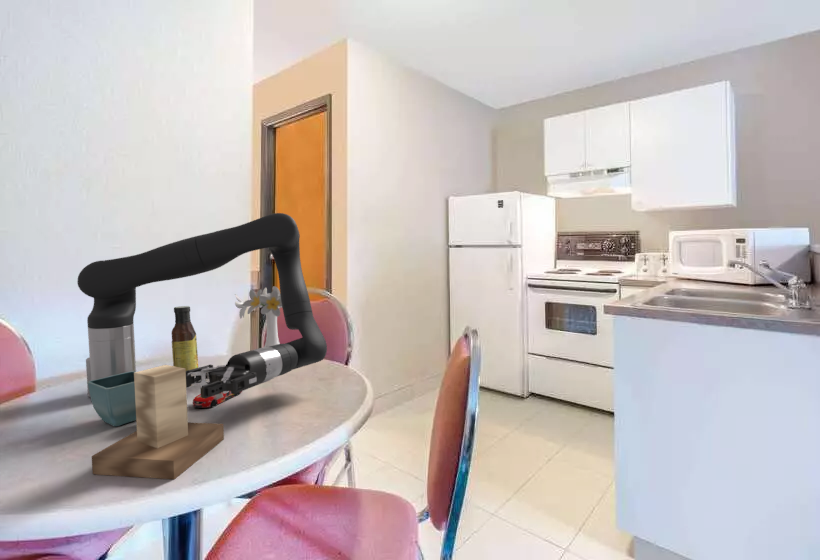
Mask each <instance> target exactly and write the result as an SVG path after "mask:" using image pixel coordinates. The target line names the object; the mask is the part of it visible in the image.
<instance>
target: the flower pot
mask: <svg viewBox="0 0 820 560" xmlns="http://www.w3.org/2000/svg"><path fill="white" fill-rule="evenodd" d="M134 373H135V372H134V371H131V372H126V373H122V374H118V375H113V376H109V377H105V378H101V379H96V380H92V381H88V382H87V381H86V384H87V383H88V387H89V392H90V396H91V397H90V400H91V403H92V406H93V409H94V410H95V412H96V413H97V415H98V417H99V418H101V420H102V421H103V422H104V423H106V424H109V425H110V426H113V427H119V426H122V425H125V424H128V423H131V422H134V421H136V403H135V384H134Z"/></svg>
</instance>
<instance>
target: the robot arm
mask: <svg viewBox="0 0 820 560" xmlns="http://www.w3.org/2000/svg"><path fill="white" fill-rule="evenodd" d="M300 237H301V236H300V231H299V227H298V224H297V222H296V220H295V219H294V218H293V217H291V215H289V214H286V213H283V212H275V213H271V214H267V215H264V216H262V217H259V218H257V219H254V220H252V221H249V222H245V223H244V224H243V223H242V224H240V225H237V226H232V227H227V228H225V229H221V230H216V231H212V232H209V233H205V234H200V235H195V236H191V237H188V238H183V239H181V240H177V241H174V242H170V243H167V244H165V245H162V246H158V247H155V248H153V249H150V250H147V251H144V252H142V253H138V254H135V255H134V254H133V255H130V256H129V255H128V256H125V257H124V256H123V257H119V258H110V259H105V260H104V259H103V260H96V261H93V262H91V263H89V264H87V265H86V266H85V267H83V268H82V269H81V270H80V272H79V274H78V276H77V281H76V282H77V287H78V288H79V290H80V291H81V292H82V293H83V294H84V295H86V296H88V297H90V298H92V299H93V306H92V308H91V309H92V310H91V311H90V313H89V314H88V316H87V335H88V336H87V337H88V350H89V351H88V352H89V353H88V354H89V356H88V357H87V358H86V359H85V369H86V371H85V372H86V384H87V386H86V387H87V397H88V398H91V396H90V392H89V387H88V383H87V382H88V381H92V380H96V379H101V378H105V377H109V376H113V375H118V374H122V373H126V372H131V371H134V372H137V367H136V366H137V365H136V362H137V361H136V345H135V344H136V343H135V327H134V326H135V325H134V316H135V313H136V307H137V293H136V292H137V289H136V288H139V287H141V286H144V285H148V284H153V283H157V282H164V281H165V282H166V281H170V280H177V279H183V278H188V277H192V276H196V275H200V274H203V273H207V272H211V271H214V270H216V269H218V268H221V267H223V266H225V265H227V264H228V263H230V262H232V261H233V260H235V259H237V258H239V257H240V256H242V255H244V254H247V253H250V252H253V251H258V250H262V249H269V251H270V253H271V255H272V257H273V261H274V262H275V266H276V270H277V275H278V281H279V284H278V285H279V291H280V296H281V303H282V308H281V309H282V313H283V317H284V322H285V325H286V327H287V329H289V330H294V331H297V330H298V331H299V333H300V335H301V337H300V338H297V339H294V340H291V341H289V342H285V343H280V344H277V345H273V346H270V347H266V348H264V347H259V348H258V347H257V348H256V349H255V348H254V349H252V350H247V351H244V352H240V353H237V354H234V355H232V356H231V357H230V358H229V359H228V361H227V362H226V364H223V365H222V364H221V365H217V366H216V367H215V366H214V365H213V364H208V365H203V366H200V367H199V366H198V368H195V369H192V370H187V371H186V389H187V388H190V387H193V386H194V387H195V386H196V387H197V386H200V394H201V397H202V398H208V397H211V396H214V395H217V394H219V393H221V392H222V393H224V394H225V393H228V392H229V391H231V394H236V393H239V392H241V391H242V392H243V391H246V390H248V389H251V388H253V387H256V386H258V385H261V384H264V383H267V382H270V381H271V380H273V379H274V378H277V377H280V376H282V375H285V374H287V373H289V372H291V371H292V370H296V369H299V368H300V369H301V368H302V367H305V366H309V365H313V364H316V363H318V362H319V363H320V362H321V361H323V360H325V357H326V356H327V351H328V347H327V346H328V345H327V341H326V339H325V336H324V335H323V333H322V331H321V329H320V326H319V325H318V323H317V321H316V319H315V318H314V313H313V309H312V304H311V300H310V296H309V292H308V288H307V285H306V280H305V278H304V273H303V269H302V263H301V253H300V252H301V251H300V249H301V248H300ZM207 380H209V381H207ZM242 392H241V393H242ZM239 394H240V393H239Z"/></svg>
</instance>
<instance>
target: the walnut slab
mask: <svg viewBox="0 0 820 560" xmlns="http://www.w3.org/2000/svg"><path fill="white" fill-rule="evenodd" d="M224 431H225V430H224V423H211V422H210V423H209V422H191V421H189V422H188V436H185V437H183V438H181V439H178V440H176V441H174V442H171V443H169V444H167V445H164V446H162V447H160V448H155V447H152V446H149V445H146V444H143V443H140V442H137V430H136V431H134V432H132V433H130V434H128V435H126V436H125V437H123V438H121V439H119V440H118V441H116V442H114V443H112V444H110V445H109V446H107V447H105V448H103V449H101V450H100V451H97V452H96V453H93V455H91V466H92V475H98V476H99V475H101V476H116V477H129V478H133V477H134V478H147V479H161V480H162V479H163V480H165V479H166V480H175V479H177V478H178V477H180V476H181V475H182V474H183V473H184V472H186V470H188V469H189V468H191V467H192V466H193V465H194V464H196V462H198V461H199V460H200V459H202V458H203V457H204V456H205V455H207V454H208V453H209V452H211V451H212V450H213V449H214V448H215V447H216V446H218V445H219V444H220V443H222V442H223V441H224V440H225V437H224V436H225V434H224Z"/></svg>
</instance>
